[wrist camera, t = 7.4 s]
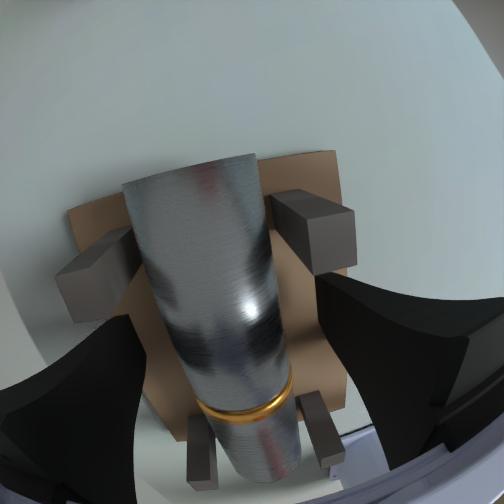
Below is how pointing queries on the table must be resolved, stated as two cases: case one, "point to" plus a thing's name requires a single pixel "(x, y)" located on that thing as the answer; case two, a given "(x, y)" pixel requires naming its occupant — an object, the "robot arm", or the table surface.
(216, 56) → the table surface
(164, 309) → the silver metal cylinder
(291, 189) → the collar stand
